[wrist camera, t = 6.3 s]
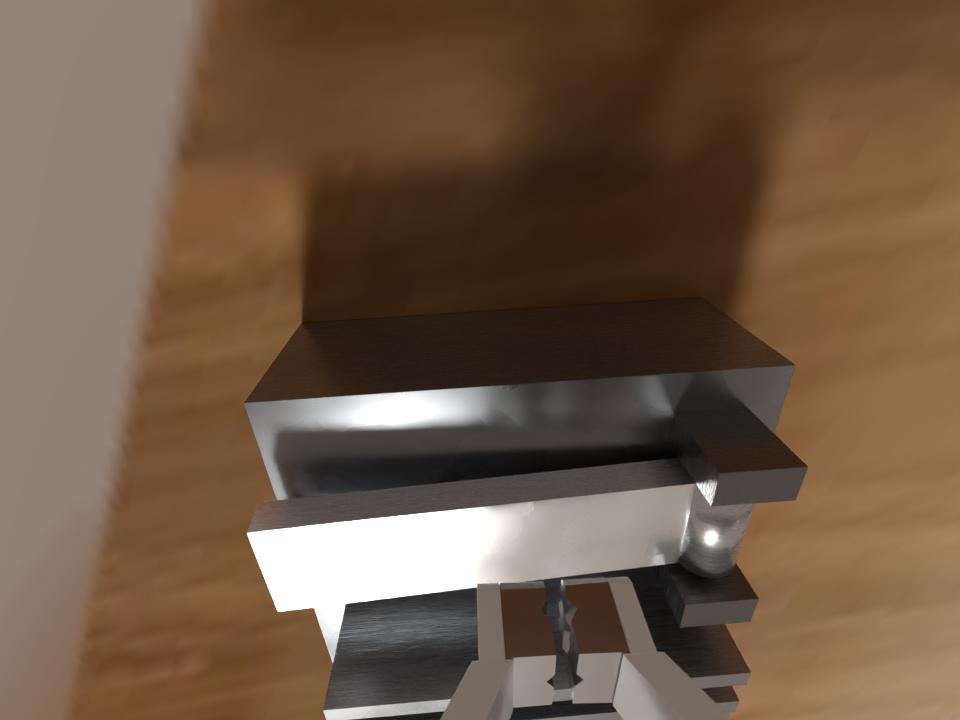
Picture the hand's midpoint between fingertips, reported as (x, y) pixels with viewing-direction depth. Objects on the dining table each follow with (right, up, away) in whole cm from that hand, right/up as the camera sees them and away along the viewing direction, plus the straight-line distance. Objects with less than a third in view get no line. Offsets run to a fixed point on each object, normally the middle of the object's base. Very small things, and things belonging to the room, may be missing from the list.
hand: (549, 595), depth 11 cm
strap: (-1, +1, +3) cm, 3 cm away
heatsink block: (0, -2, +10) cm, 10 cm away
